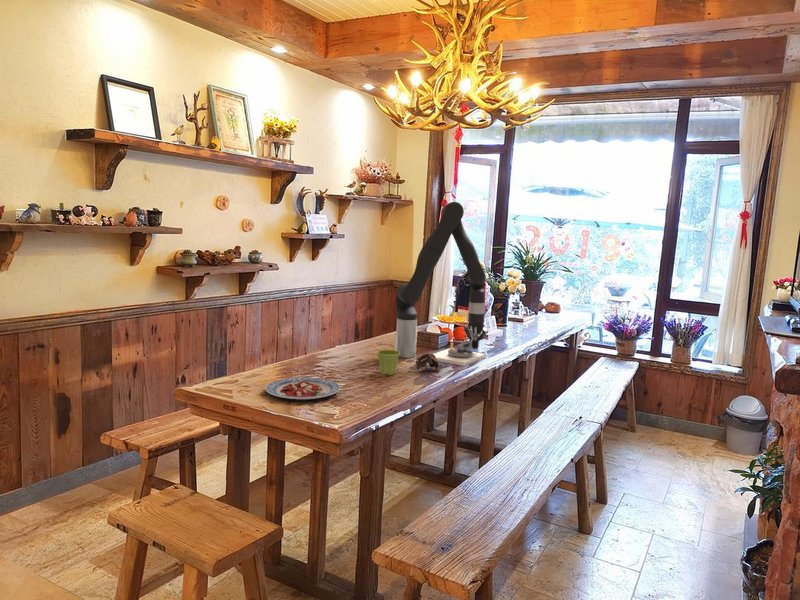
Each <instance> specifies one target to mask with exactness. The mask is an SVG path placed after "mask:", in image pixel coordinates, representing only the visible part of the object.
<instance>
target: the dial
mask: <svg viewBox="0 0 800 600" xmlns="http://www.w3.org/2000/svg"><path fill="white" fill-rule="evenodd" d="M470 349H473V347H472V340H468V341H466V342H463V343H460V344H457V347H456V348H453V349H452V350H449V351H448V355H449V356H452V357H458V358H468V357H472V353H473V352H474V351H471V350H470Z"/></svg>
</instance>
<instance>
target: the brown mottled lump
mask: <svg viewBox="0 0 800 600" xmlns="http://www.w3.org/2000/svg"><path fill="white" fill-rule="evenodd" d="M433 354H434V353H425V354H424V353H423V354H422V355H421V356H419V357H417V359H416V360H415V362H414V363H415V368H416V369H417V371H418V370H419V369H420V368H427V364H429V367H430V368H435V370H436V372H437V373H438V374H439V373H441V368H440V364H439V361H437V359H436V357H435V355H433Z"/></svg>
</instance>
